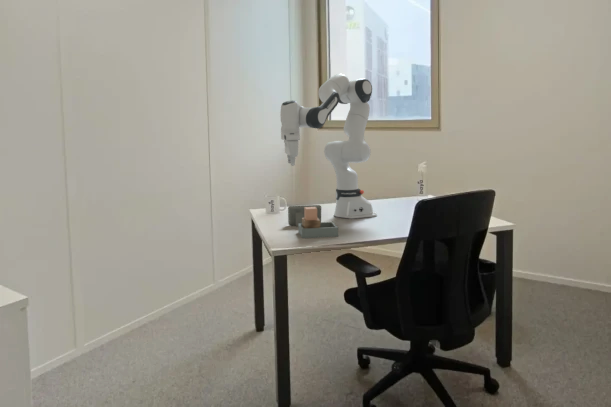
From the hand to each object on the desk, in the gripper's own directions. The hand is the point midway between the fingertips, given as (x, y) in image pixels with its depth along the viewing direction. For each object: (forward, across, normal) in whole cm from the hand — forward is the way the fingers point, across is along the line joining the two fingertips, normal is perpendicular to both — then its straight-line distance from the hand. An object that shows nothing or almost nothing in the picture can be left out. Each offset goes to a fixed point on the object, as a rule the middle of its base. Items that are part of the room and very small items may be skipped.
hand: (291, 164), depth 273 cm
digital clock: (+30, +4, +5) cm, 31 cm away
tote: (+30, +27, +7) cm, 41 cm away
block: (+28, +27, +4) cm, 39 cm away
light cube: (+22, +27, +4) cm, 35 cm away
